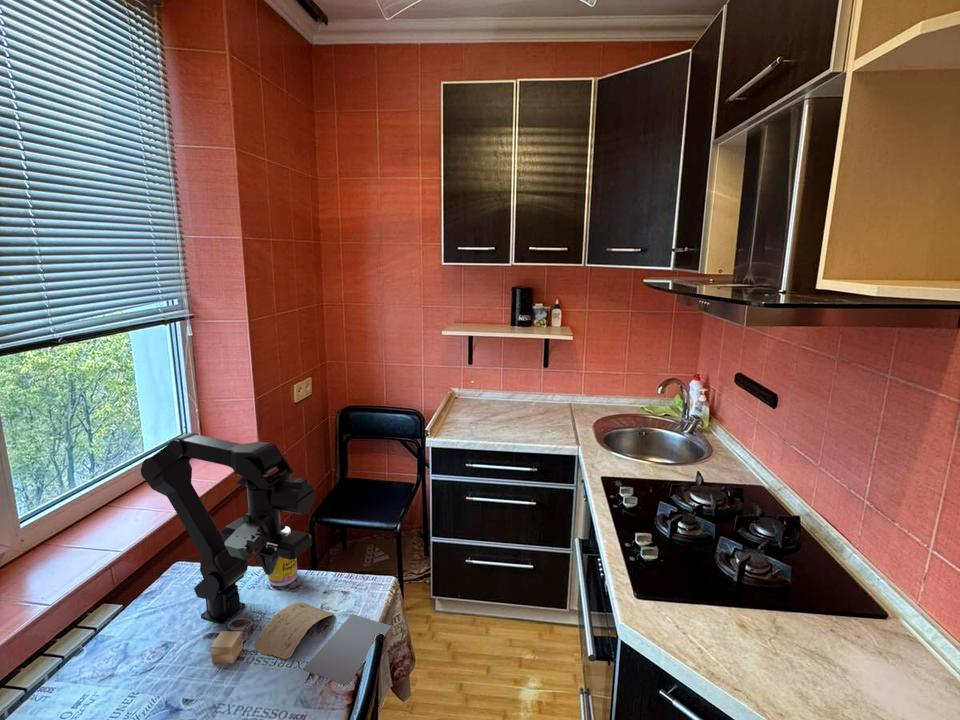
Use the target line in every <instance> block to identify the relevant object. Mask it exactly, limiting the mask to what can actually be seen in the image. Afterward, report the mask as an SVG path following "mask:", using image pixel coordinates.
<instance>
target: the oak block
mask: <svg viewBox="0 0 960 720" xmlns="http://www.w3.org/2000/svg"><path fill="white" fill-rule="evenodd" d="M242 634H243V633H242V631H233V630H232V631H224V630H221V631H220V633H219V634H218V635H217V637H216V638H215V639H214V640H213V642H212V644H211V645H210V654H211V663H212V664H234V662H235V661H236V659H237V658H238V656H239V655H240V653H241V651H242V650H243V648H244V645H243V635H242Z"/></svg>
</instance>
